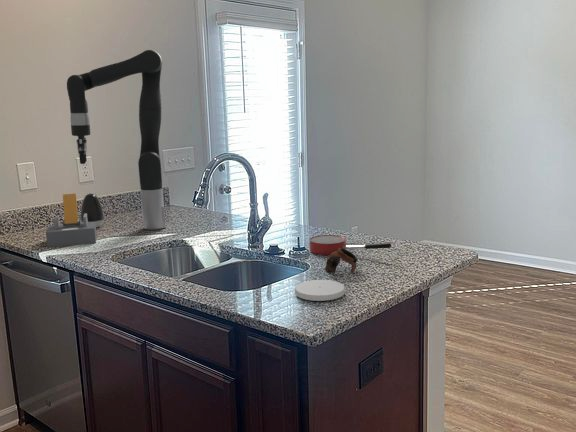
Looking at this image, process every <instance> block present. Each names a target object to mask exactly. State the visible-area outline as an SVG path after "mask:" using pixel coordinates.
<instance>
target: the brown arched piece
mask: <svg viewBox="0 0 576 432" xmlns="http://www.w3.org/2000/svg"><path fill="white" fill-rule="evenodd" d="M341 261H343V262H345V263H347V264H349V265H351V269H350V272H351V273H352V272H353V273H354V272H355V270H356V269H357V262H358V258H357V257H356V255H354V254H353V253H352V252H351V251H349V250H348V249H346V250H345V249H342V248H338V250H337V251H335V252H333V253H331V255H328V259H326V263H325V267H324V270H325V272H326V273H327V272H328V273H329V272H332V273H335V272H336V271H337V268H338V266H339V264H340V262H341Z"/></svg>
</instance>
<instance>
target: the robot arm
mask: <svg viewBox="0 0 576 432" xmlns="http://www.w3.org/2000/svg"><path fill="white" fill-rule="evenodd" d="M162 66H163V59H162V56H161V55H160V54H159V53H158V52H157V51H155V50H153V49H145V50H144V51H142V52H141V53H139V54H137V55H135V56H133V57H130V58H128V59H125V60H122V61H119V62H117V63H115V62H114V63H111V64H108V65H104V66H101V67H98V68H97V67H96V68H95V69H91V70H90V71H89V72H85V73H82V74H81V73H80V74H73V75H70V76H68V78H67V80H66V90H67V96H68V100H69V108H70V109H69V110H70V117H69V118H70V132H71V135H72V136H75V137H77V139H76V146H77V153H78V155H79V164H81V165H85V164H86V162H87V151H88V150H87V149H88V140H87V138H86V136H91V125H90V124H91V122H90V116H89V115H90V114H89V106H88V101H87V99H86V91H88V90H91V89H93V88H97V87H101V86H105V85H108V84H111V83H114V82H117V81H120V80H122V79H124V78H126V77H128V76H129V77H130V76H132V75H136V74H141V78H142V79H141V80H142V81H141V83H142V84H141V85H142V86H141V91H140V98H139V104H138V123H139V124H138V125H139V130H140V131H139V133H140V140H141V143H140V152H139V157H138V158H139V159H138V161H137V163H138V166H137V167H138V175H139V185H140V186H139V187H140V199H141V200H140V201H141V209H142V213H141V214H142V224H143V229H145V230H160V229H161V230H162V229H164V228H166V227H167V225H166V215H165V205H164V193H163V190H164V189H163V179H162V177H163V176H162V162H161V156H160V148H159V147H160V145H159V144H160V143H159V139H160V138H159V137H160V131H161V124H162V97H161V95H162V94H161V88H160V87H161V84H160V83H161V76H162V75H161V74H162V68H163V67H162Z"/></svg>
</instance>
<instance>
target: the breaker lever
mask: <svg viewBox="0 0 576 432" xmlns="http://www.w3.org/2000/svg"><path fill="white" fill-rule="evenodd" d="M62 204H63V217H64V220H62V224H63V226H71V225H80V223H81V219H79V214H78V199H77V193H67V194H65V193H62Z"/></svg>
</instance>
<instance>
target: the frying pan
mask: <svg viewBox="0 0 576 432" xmlns="http://www.w3.org/2000/svg"><path fill="white" fill-rule="evenodd" d="M338 248H342V249H345V250H352V249H353V250H354V249H355V250H357V249H365V250H369V249H371V250H372V249H373V250H374V249H375V250H376V249H390V248H392V244H391V242H389V243H388V242H387V243H366V244H364V245H347V238H346V237H345V236H341V235H334V234H321V235H316V236H312V237H310V238H309V251H310V253H312V252H313V253H312V254H314V253H315V254H314V255H318V254H322V255H321V256H330V255H331V253H333V252H335V251H337V250H338Z"/></svg>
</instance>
